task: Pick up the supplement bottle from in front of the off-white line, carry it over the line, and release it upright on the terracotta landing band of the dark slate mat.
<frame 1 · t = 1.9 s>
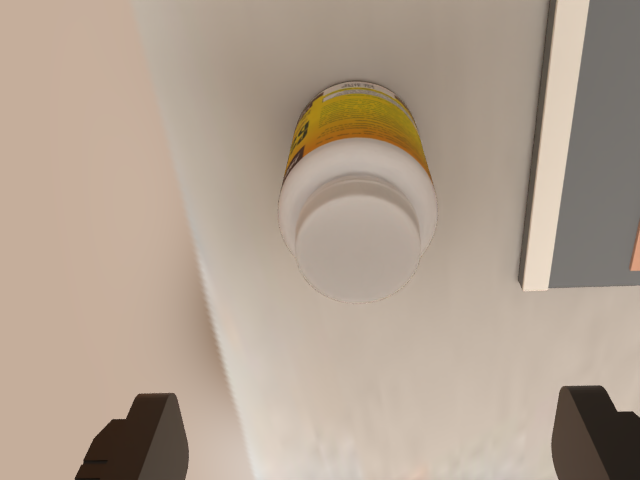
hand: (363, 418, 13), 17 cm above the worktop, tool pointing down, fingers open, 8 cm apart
supplement bottle: (355, 137, 28), on the worktop
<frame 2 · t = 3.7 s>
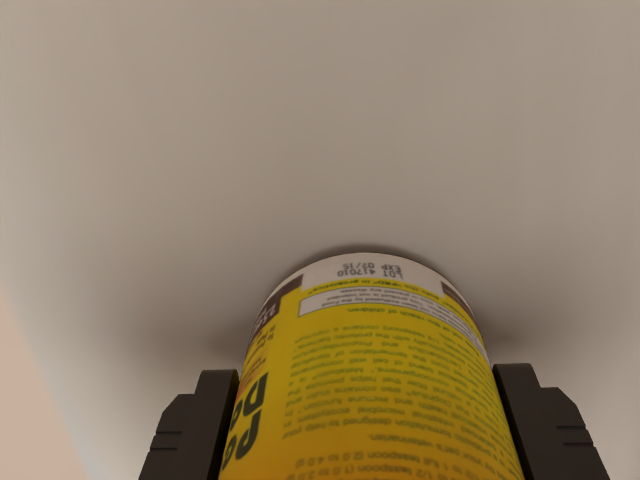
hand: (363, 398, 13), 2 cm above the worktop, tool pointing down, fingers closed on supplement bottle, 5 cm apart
supplement bottle: (363, 333, 15), on the worktop, touching gripper
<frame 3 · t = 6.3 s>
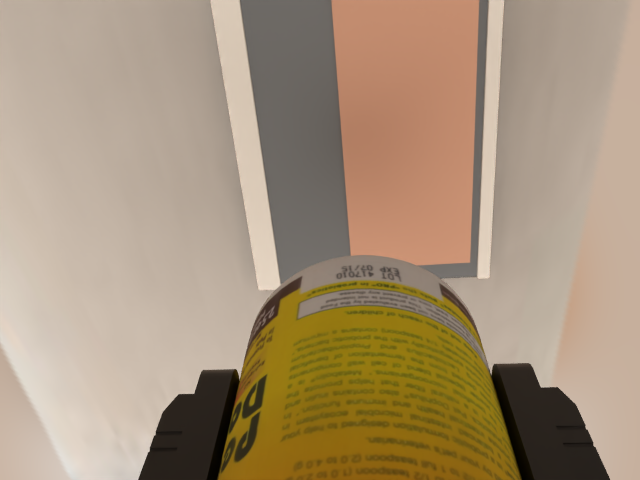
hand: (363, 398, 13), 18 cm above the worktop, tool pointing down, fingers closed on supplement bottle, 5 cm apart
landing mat: (405, 127, 28), on the worktop
supplement bottle: (362, 335, 15), point 15 cm above the worktop, touching gripper
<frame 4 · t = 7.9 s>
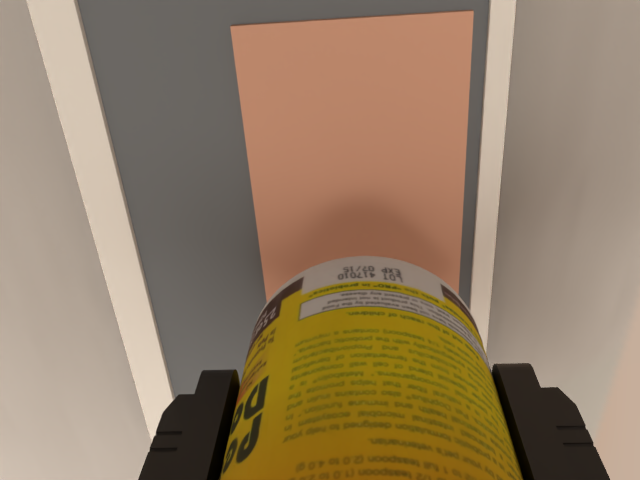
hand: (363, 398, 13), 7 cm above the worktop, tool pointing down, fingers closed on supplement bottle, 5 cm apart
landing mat: (359, 245, 19), on the worktop
supplement bottle: (363, 336, 15), point 4 cm above the worktop, touching gripper
when the fingers open (4 cm above the worktop, at t = 8.8 s): supplement bottle drops 1 cm, resting on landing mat.
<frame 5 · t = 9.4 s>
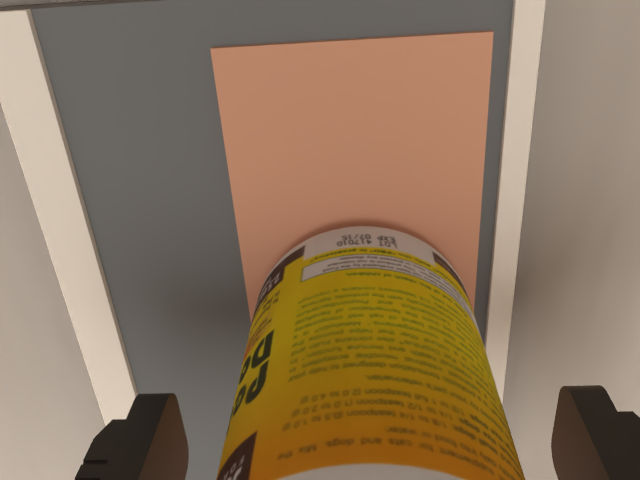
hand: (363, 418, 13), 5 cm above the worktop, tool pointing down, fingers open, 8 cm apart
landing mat: (359, 289, 17), on the worktop
supplement bottle: (360, 304, 16), point 1 cm above the worktop, touching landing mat
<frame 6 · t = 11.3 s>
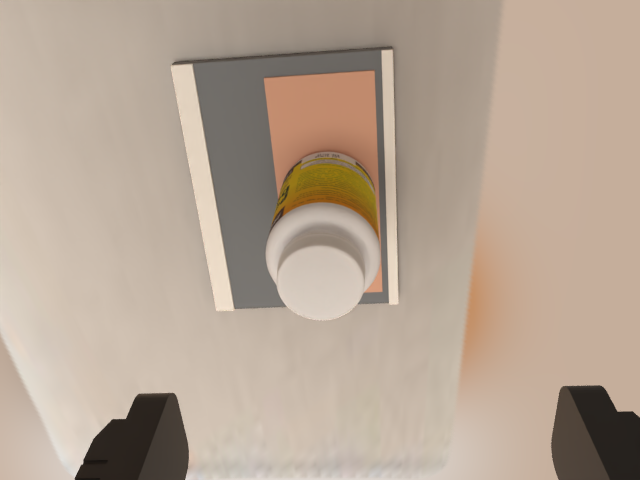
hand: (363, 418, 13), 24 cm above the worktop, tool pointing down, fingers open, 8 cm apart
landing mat: (328, 187, 37), on the worktop
supplement bottle: (328, 191, 36), point 1 cm above the worktop, touching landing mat
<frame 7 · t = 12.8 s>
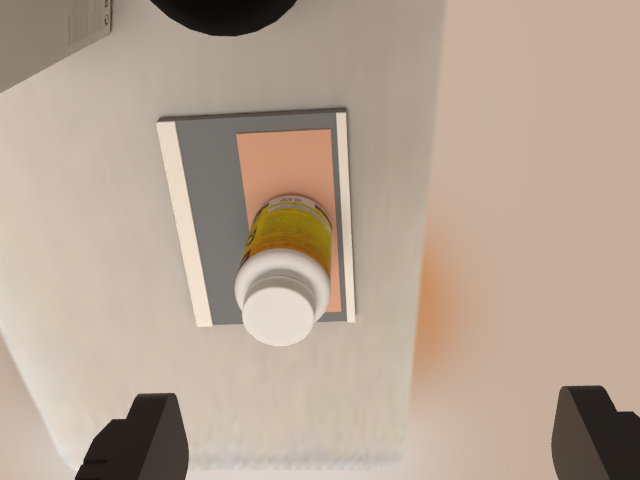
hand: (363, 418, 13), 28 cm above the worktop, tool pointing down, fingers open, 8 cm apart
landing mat: (293, 223, 42), on the worktop
supplement bottle: (293, 227, 42), point 1 cm above the worktop, touching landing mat
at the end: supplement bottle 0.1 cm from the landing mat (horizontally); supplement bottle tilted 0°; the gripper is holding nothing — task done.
